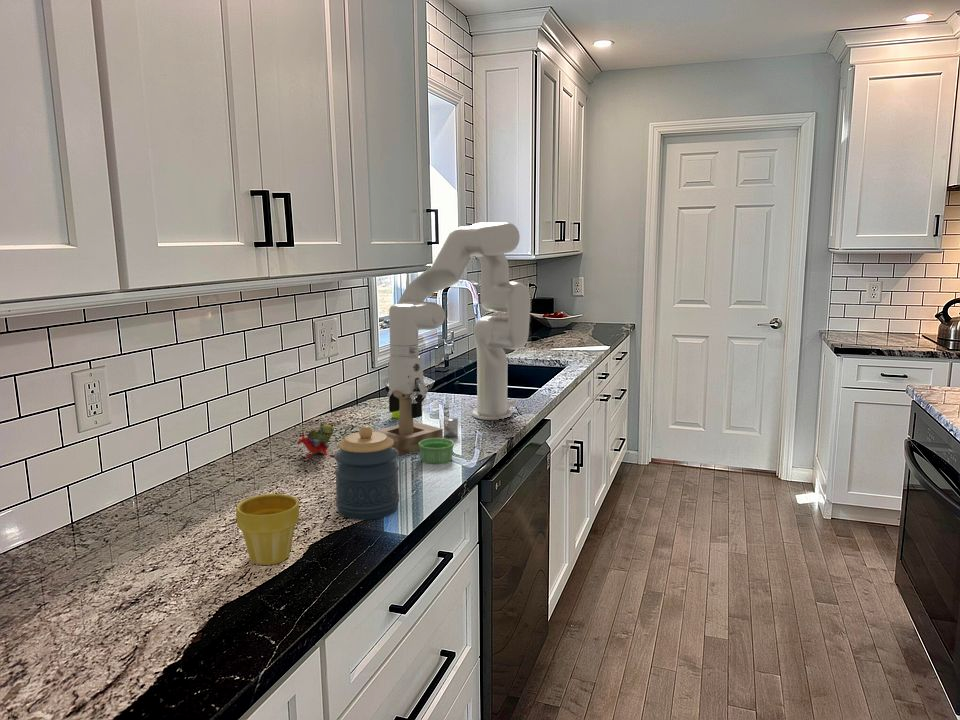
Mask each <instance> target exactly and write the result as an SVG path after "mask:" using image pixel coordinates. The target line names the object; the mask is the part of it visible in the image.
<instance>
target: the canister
mask: <svg viewBox="0 0 960 720" xmlns="http://www.w3.org/2000/svg"><path fill="white" fill-rule="evenodd" d="M372 431H373V430H372V428H371V426H369V425H363V426H361V428H359V432H354V433H350V434H348V435H346V436H345V437H344V438H343V439H341V440H340V441H338V443H337V447H338V448H339V449H338V450H337V451H336V452H335V453H334V454H333V455H334V457H333V459H334V460H335V461H336V468H335V469H334V474H335V490H336V497H335V505H336V509H337V513H338V514H339V515H341V516H342V517H345V518H348V519H349V520H350V519H353V520H361V521H362V520H363V521H367V520H376V519H380V518H384V517H387V516H389V515H392V514H394V513H395V512H396V511H398V508H399V503H400V493H399V469H400V468H399V465H398V464H397V457H399V456H398V450H397V449H395V448H394V447H392V446H393V444H394V440H393V439H392V438H390V437H388V436H387V435H385V434H383V433H380V432H372Z"/></svg>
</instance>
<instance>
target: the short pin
mask: <svg viewBox="0 0 960 720" xmlns="http://www.w3.org/2000/svg"><path fill="white" fill-rule="evenodd" d="M458 420H459V419H458V418H456V417H445V418H444V419H443V438H445V439H449V440H452V439H456V438H458V437H459V421H458Z"/></svg>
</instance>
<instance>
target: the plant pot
mask: <svg viewBox="0 0 960 720" xmlns="http://www.w3.org/2000/svg"><path fill="white" fill-rule="evenodd" d="M235 510H236V511H235V513H236V514H235V515H236V526H237V527H238V529H239V530H240V531H242V532H241V533H242V536H243V539H244V542H245V546H246V550H247V552H248V556H249V560H250V561H251V562H252V563H253V564H256V565H261V566H270V565H275V564H279V563H283V562H284V561H286V560H287V559H288V558H289V556H290V555H291V549H292V543H293V538H294V532H295V526H296V524H298V522H299V520H300V502H299V500H298V499H297V497H294V496H292V495H289V494H282V493H270V494H269V493H268V494H262V495H261V494H260V495H257V496H252V497H249V498H246V499H244V500H242V501H240V502H239V503H238V504H237V505H236V508H235Z"/></svg>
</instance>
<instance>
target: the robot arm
mask: <svg viewBox="0 0 960 720" xmlns="http://www.w3.org/2000/svg"><path fill="white" fill-rule="evenodd" d="M520 235H521V234H520V231H519V229H518V227H517V226H516V225H515V224H514V223H511V222H477V223H473V224H472V225H470V226H469V225H468V226H459V227H455V228H453V229H452V230H451V232H450V233H449V234H448V236H447V238H446V240H445V242H444V243H443V245H442V247H441V249H440V251H439V253H438V254H437V256H436V258H435V260H434V262H433V264H432V265H431V266H430V267H429V268H427V269H426V270H425V271H423V272H422V273H421V274H420V275H418V276H417V277H416V278H415V279H413V280H412V281H411V282H409V284H408V285H407V286H406V288H405V289H404V291H403V293H402V294H401V297H400V298H399V299H398V302H397V303H396V304H392V305H390V307H389V309H388V317H389V318H388V320H389V322H388V323H389V325H388V326H389V358H388V367H387V377H386V378H383V380H382V382H383V385H384V388H385V392H386V393H387V395H386V396H387V397H388V407H389V409H388V411H389V413H392V412H395V411H399V407H400V402H399V399H398V398H397V397H395V396H394V391H396V392H401V393H404V394H407V395H410V397H411V399H412V403H411V414H412V418H413V419H418V418H420V417H422V416H423V403H424V400H425V398H426V397H427V393H428V392H429V388H427V386H426V385H425V379H424V371H423V369H424V368H423V363H422V358H421V356H419V352H420V349H419V330H425V331H427V330H428V331H433V330H436V329H438V328H440V327H441V326H442V325H443V324H444V322H445V319H446V314H445V313H446V311H445V309H444V308H443V307H442V306H441V305H440V304H438V303H436V302H433V301H425V300H426V299H428V298H429V296H431V295H432V294H435V293H437V292H438V291H442V290H445V289H447V288H449V287H452V286H453V285H456V284H457V283H458V282H459V280H460V279H461V278H462V276H463V274H464V271H465V269H466V268H467V265H468V264H469V262H470V259H471V258H473V257H477V259H478V260H479V262H480V268H481V270H480V271H481V272H480V275H481V276H480V295H479V296H480V297H479V299H480V305H481V307H482V308H483V310H485V311H487V312H488V311H489V312H492V313H503V314H504V313H505V314H507V316H499V315H498V316H495V315H486V316H483V317H480V318H479V319H478V320H477V321H476V322H475V324H474V327H473V337H474V341H475V347H476V360H477V361H476V363H477V364H476V366H477V367H476V369H477V370H476V375H477V376H476V382H477V385H476V391H477V392H476V393H477V394H476V396H477V397H476V399H477V400H476V401H477V402H476V405H477V407H476V408H475V409H474V410H472V413H471V414H472V415H471V416H473V418H475V419H479V420H483V421H485V420H486V421H500V420H499V419H502V420H505V419H504V418H507V417H509V416H511V415H512V416H513V411H512V410H510V407H514V406H516V405H517V401H516V399H511V400H509V399H508V367H509V366H508V364H509V363H508V357H507V353H506V351H505V350H506V349H507V350H515V351H517V350H520V349H522V348H524V347H525V346H526V344H527V342H528V339H529V335H530V317H531V295H530V290H529V288H528V287H527V285H525V284H524V283H522V282H518V281H510V279H509V278H510V275H509V273H510V271H509V270H510V268H509V267H510V266H509V261H508V259H507V256H506V254H508V253H511V252H513V251H514V250H516V249H517V248H518V245H519V243H520V239H521V238H520V237H521V236H520ZM504 349H505V350H504ZM413 391H414V392H413ZM415 395H417V396H416V397H415ZM512 416H511V417H512ZM507 419H508V418H507Z"/></svg>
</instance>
